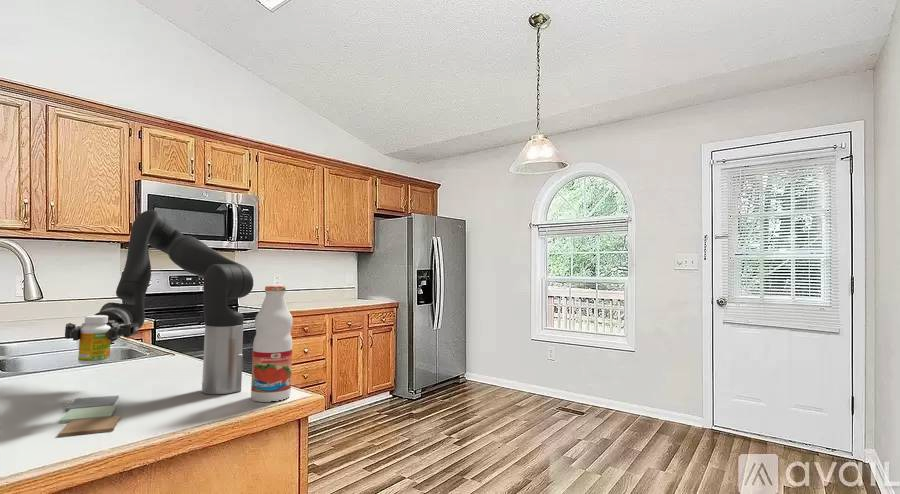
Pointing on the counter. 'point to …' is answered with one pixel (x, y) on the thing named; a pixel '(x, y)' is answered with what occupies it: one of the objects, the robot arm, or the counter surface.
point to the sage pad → (88, 413)
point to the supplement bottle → (94, 340)
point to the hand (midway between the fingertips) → (93, 335)
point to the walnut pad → (90, 426)
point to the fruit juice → (272, 348)
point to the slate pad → (93, 402)
